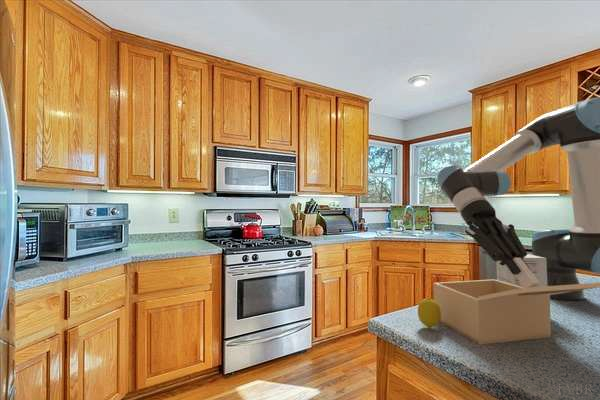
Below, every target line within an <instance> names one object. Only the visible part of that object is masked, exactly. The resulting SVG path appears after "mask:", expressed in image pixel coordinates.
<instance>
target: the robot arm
mask: <svg viewBox="0 0 600 400" xmlns="http://www.w3.org/2000/svg"><path fill="white" fill-rule="evenodd" d="M557 145H559V147H560V149H562V151H563V150H564V151H565V152H566V153H567V163H568V172H569V181H570V192H571V200H572V211H573V218H574V219H573V221H574V224H573V225H574V226H572V227H570V228H569V229H545V230H536V231H533V233H532V236H531V237H532V238H531V239H532V240H531V250H532V252H531V253H532V254H531V255H535V256H539V257H544V258H546V263H547V286H559V285H574V284H581V283H580V281H579V279H578V276H577V270H579V271H582V272H583V271H584V272H589V273H594V274H596V275H600V97H593V98H588V99H585V100H579V101H578V102H576V103H573V104H570V105H567V106H564V107H561V108H558V109H555V110H553V111H549V112H547V113H545V114H543V115H541V116H539V117H537V118H536V119H535V120H532V121H531V122H530V123H528V124H527V125H526V126H524V127H522V128H521V129H519V130H518V131H516V132H515V133H514V135H513V137H511V139H509V140H508V141H506V142H505V143H503V144H502V145H500V146H498V147H497V148H495V149H494V150H493V151H491V152H489V153H488V154H486V155H484V157H481V158H480V159H479V160H477V161H475V162H474V163H473V164H471V165H469V166H468V167H467V168H465V169H463V168H462V167H461V166H459V165H457V164H450V165H447V166H445V167H443V168H441V170H440V171H439V172H438V174H437V176H436V180H437V183H438V185H439V186H440V190H441V193H442V195H444V197H446V198H448V199H449V200H450V201H451V203H452V204H453V206H454V207H455V209H456V210H457V212H458V213H459V214H460V216H461V218H462V219H463V221H464V222H465V224H466V225H467V228H466V229H465V230H464V231H465V232H464V233H465V234H466V235H468V236H469V237H471V238H472V239H473V240H474V241H475V242H476V243H477V244H478V245H479V246H480V247H481V248H482V249H483V250H484V251H485V253H486V254H487V255H488V256H489V257H490V258H491V259H492V260H493V261H494V262H497V261H501V262H500V263H499V264H500V265H505V264H506V266H507V267H508V268H509V270H510V271H511V273H512V274H514V275H515V276H516V278H517V279H518V280H519V282H520V283H521V284H522V286H523V287H524V288H529V287H536V286H537V285H538V284H540V282H539V281H538V280H537V278H536V277H535V276H534V274H533V273H532V272H531V269H530V268H529V267H528V265H527V264H526V263H525V261H524V260H523V258H524V257H525V256H526V255H527V254H528V253H527V252H528V251H526V249H525V247H524V245H523V243H522V241H521V240H520V238H519V236H518V235H517V233H516V230H515V225H514V224H511V223H510V224H508V225H506V224H504V223H503V221H502V220H500V219H499V218H498V217H497V214H496V209H495V208H494V207H493V205H491V203H490V202H489V201H488V200H487V198H486V197H490V196H491V197H496V196H503V195H505V194H508V192H509V191H510V189H511V186H512V185H511V184H512V182H511V180H512V179H511V177H510V175H509V174H508V173H507V172H505V170H506V169H508V168H510V167H512V165H514V164H515V163H517V162H518V161H520V160H522V159H524V157H526V156H527V155H532V154H535V153H538V152H539V151H541V150H543V149H545V148H548V147H552V146H557ZM550 299H554V300H563V301H583V300H584V299H585V294H584V290H580V291H574V292H566V293H560V294H553V295H550Z"/></svg>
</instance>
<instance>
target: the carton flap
mask: <svg viewBox="0 0 600 400" xmlns="http://www.w3.org/2000/svg"><path fill="white" fill-rule="evenodd" d="M597 288H600V282H591V283H580V284H574V285H559V286H544V287H529V288H519V289H514V290H509V291H504V292H499V293H493V294H488V295H483V296H478V300H489V299H502V298H516V297H530V296H543V295H553V294H560V293H566V292H574V291H580V290H583V291H586V290H591V289H597Z"/></svg>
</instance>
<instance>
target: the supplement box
mask: <svg viewBox="0 0 600 400" xmlns="http://www.w3.org/2000/svg"><path fill="white" fill-rule="evenodd" d="M523 260H524V261H525V263H526V264H527V265H528V267H529V268H530V269H531V272H532V273H533V274H534V276H535V277H536V278H537V280H538V281H539V282H540V284H538V285H537V286H536V287H544V286H547V263H546V258H544V257H539V256H535V255H533V254H530V253H527V255H526V256H525V257H524V258H523ZM495 262H496V261H495ZM500 262H501V261H497V262H496V265H495V266H496V280H498V281H502V282H505V283H509V284H512V285H516V286H519V287H523V286H522V284H521V283H520V282H519V280H518V279H517V278H516V276H515V275H514V274H512V273H511V271H510V270H509V268H508V267H507V266H506V264H505V265H500V264H499V263H500ZM523 288H524V287H523Z"/></svg>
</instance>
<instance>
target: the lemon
mask: <svg viewBox="0 0 600 400" xmlns="http://www.w3.org/2000/svg"><path fill="white" fill-rule="evenodd" d="M417 317H418V319H419V321H420V323H421V324H423V325H424V326H426V327H427V328H428V329H429V330H431V329H432V328H433V327H436V326H437V325H439V324H440V323H441V322H440V319H441V311H440V307H439V305H438V303H437V302H436V301H434V298H433V299H432V298H431V297H429V296H427V297H426V298H423V299H421V300H420V301H419V304H418V306H417Z"/></svg>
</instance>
